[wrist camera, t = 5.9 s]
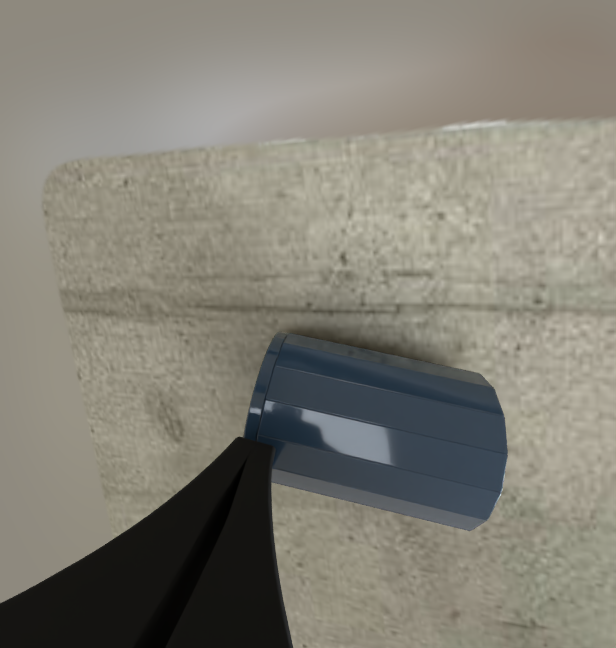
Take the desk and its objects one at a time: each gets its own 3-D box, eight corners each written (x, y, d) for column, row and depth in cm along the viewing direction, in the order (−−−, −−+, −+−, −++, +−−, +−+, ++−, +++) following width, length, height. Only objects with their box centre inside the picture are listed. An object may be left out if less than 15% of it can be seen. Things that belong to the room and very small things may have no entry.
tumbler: (242, 498, 13) (443, 549, 13) (236, 422, 9) (533, 492, 9) (278, 386, 18) (425, 419, 18) (285, 303, 14) (478, 343, 14)
